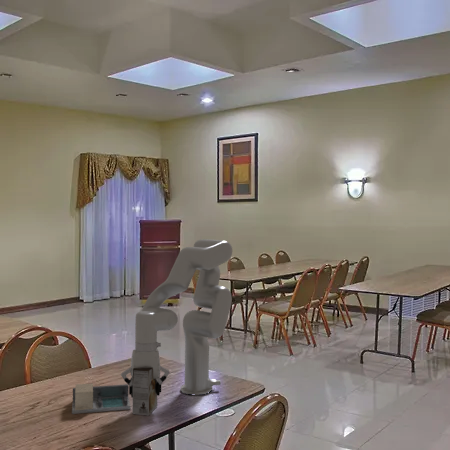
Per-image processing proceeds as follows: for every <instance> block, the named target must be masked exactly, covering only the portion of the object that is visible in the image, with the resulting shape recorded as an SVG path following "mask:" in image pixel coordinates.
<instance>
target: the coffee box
mask: <svg viewBox="0 0 450 450" xmlns="http://www.w3.org/2000/svg"><path fill="white" fill-rule="evenodd" d="M156 388H157V380H156V379H153V368H134V369H133V398H132V415H141V416H148V417H149V416H150V415H151V414H152V413H153V412H154V411H155V409H157V407H158V395H157V393H156Z"/></svg>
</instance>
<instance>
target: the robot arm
mask: <svg viewBox="0 0 450 450" xmlns="http://www.w3.org/2000/svg"><path fill="white" fill-rule="evenodd" d="M232 255H233V247H232V244H231V243H230V242H228V241H227V240H220V239H207V238H206V239H205V238H204V239H198V240H196V241H195V242H194V244H193V246H186V247H183V248H182V249H181V250H180V251H179V252H178V255H177V257H176V259H175V261H174V264H173V266H172V268H171V270H170V272H169V275H168V277H167V278H166V280H165V281H163V282H162V283H161V284H159V285H158V286H157V287H156V288H155V289H154V290H153V291H152V292H151V293H150V294H149V295H148V297H147V299H146V301H145V303H144V304H143V307H142V310H141V311H139V312H137V313H136V314H135V330H134V331H135V332H134V333H135V337H134V338H135V339H134V341H135V342H134V349H133V350H132V352H131V359H130V367H129V368H127V369H125V370H124V371H122V372H121V373H120V375H121V378H122V379H123V380H124V382H125V383H126V384H128V396H129V395H130V396H131V398H132V399H133V369H134V368H153V379H156V380H157V388H156V393H157V397H159V396H160V393H162V384H163V383H164V381H166V379H167V377H169V375H170V370H169V369H167V368H165V367H163V366H162V365H161V359H160V350H159V349H158V348H159V347H162V344H161V342H158V341H157V339H158V335H157V334H158V333H157V332H159V331H160V332H162V331H163V332H164V331H170V330H172V329H174V328H175V327H176V325H177V324H178V321H179V319H178V315H177V314H176V312H175V311H174V310H171V309H167V308H164V307H161V306H162V305H163V304H164V303H165V302H166V301H167V300H168V299H169V298H172V297H174V296H176V295H179V294H181V293H184V292H185V291H187V290H188V288H189V286H190V284H191V282H192V280H193V277H194V275H195V273H196V271H197V270H198V271H199V274H198V279H197V282H196V286H195V289H194V294H193V301H192V302H193V303H194V305H195V306H197V307H198V308H202V309H208V310H211V312H209V311H205V310H197V309H194V310H190V311H187V312H186V313H185V314H184V315H183V318H182V328H183V334H184V384H183V385H181V386H180V392H181V391H182V392H181V393H183V394H185V393H186V394H185V395H188V394H195V395H194V396H200V395H199V394H205V395H207V394H206V393H208V392H210V391H211V390H212V391H213V386H221V380H220V379H219V380H216V378H215V379H213V378H212V379H211V378H210V377H209V376H210V373H209V372H210V345H209V340H208V339H218V338H219V339H220V337H221V336H223V334H224V332H225V330H226V326H227V322H228V319H229V314H230V310H231V307H232V302H233V301H232V293H231V290H230V289H229V288H228V287H226V286H222V285H219V283H220V279H221V269H220V267H219V266H221V265H223V264H225V263H226V262H227V263H228V261H229V260H230V259H231V258H232ZM161 372H162V373H163V375H162V376H161ZM129 374H130V376H131V378H130V379H129V377H128V376H127V375H129ZM210 393H211V392H210ZM208 394H209V393H208Z"/></svg>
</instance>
